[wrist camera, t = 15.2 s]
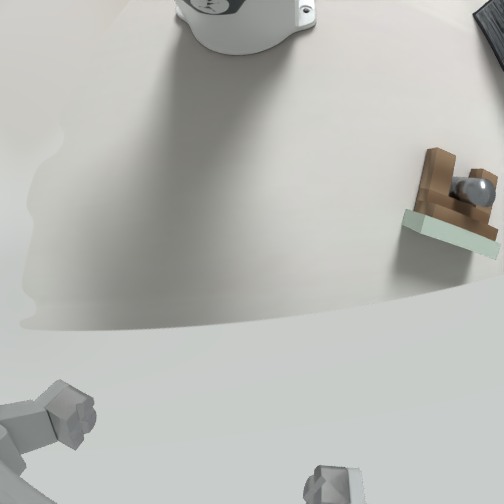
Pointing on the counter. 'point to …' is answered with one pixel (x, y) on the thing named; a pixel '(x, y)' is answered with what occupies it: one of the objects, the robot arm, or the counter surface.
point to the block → (444, 207)
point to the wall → (450, 234)
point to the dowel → (472, 191)
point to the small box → (493, 26)
